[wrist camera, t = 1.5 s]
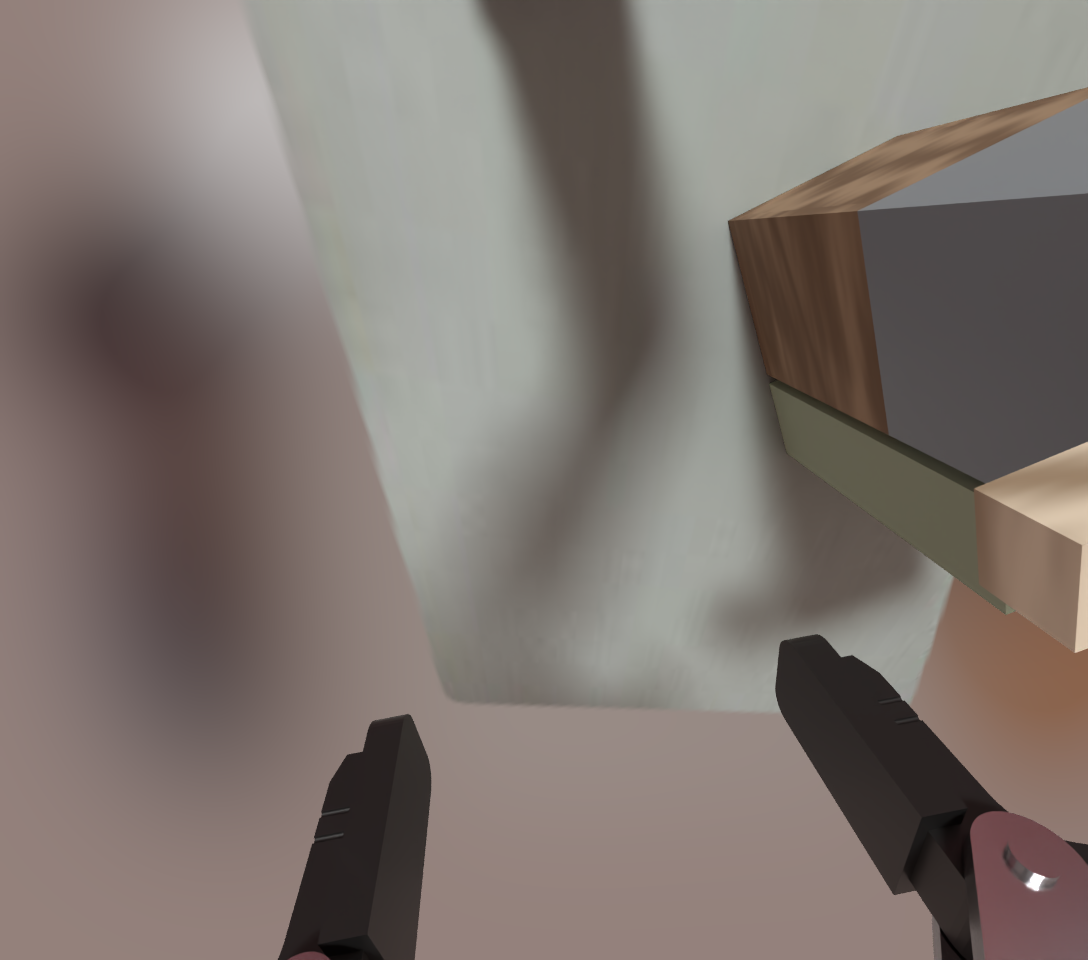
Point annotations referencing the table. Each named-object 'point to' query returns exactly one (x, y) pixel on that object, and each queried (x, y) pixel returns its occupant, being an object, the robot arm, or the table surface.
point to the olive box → (887, 482)
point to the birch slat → (1039, 543)
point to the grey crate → (987, 301)
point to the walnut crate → (846, 257)
